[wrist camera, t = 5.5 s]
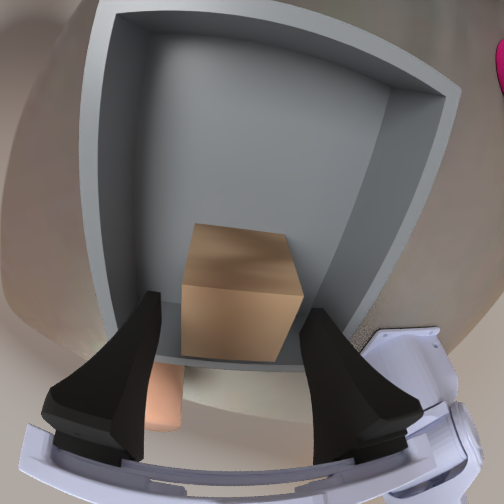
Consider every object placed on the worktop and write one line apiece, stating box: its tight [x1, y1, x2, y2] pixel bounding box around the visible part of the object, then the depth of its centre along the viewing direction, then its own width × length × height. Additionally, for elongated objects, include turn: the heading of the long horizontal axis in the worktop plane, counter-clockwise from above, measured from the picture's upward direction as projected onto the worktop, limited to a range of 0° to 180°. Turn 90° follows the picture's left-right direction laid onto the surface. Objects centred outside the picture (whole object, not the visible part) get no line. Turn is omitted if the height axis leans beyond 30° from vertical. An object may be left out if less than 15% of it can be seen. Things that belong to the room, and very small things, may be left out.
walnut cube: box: [181, 223, 304, 362], centre depth 14 cm, size 5×5×5 cm
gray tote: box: [79, 0, 462, 372], centre depth 12 cm, size 14×18×5 cm
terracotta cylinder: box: [144, 362, 185, 432], centre depth 19 cm, size 5×5×7 cm
